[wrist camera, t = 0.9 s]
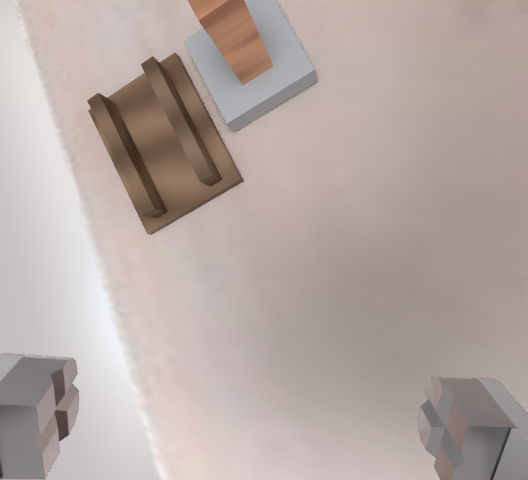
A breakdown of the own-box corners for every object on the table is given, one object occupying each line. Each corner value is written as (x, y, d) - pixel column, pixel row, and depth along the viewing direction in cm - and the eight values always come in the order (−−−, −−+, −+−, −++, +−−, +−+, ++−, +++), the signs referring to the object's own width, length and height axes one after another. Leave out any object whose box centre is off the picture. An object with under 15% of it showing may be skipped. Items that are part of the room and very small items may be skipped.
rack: (93, 113, 48) (70, 101, 44) (178, 56, 46) (162, 38, 42) (151, 234, 46) (132, 232, 42) (243, 181, 44) (232, 174, 40)
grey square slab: (194, 55, 46) (183, 41, 43) (273, 3, 44) (267, -15, 41) (234, 132, 44) (226, 123, 41) (317, 81, 43) (314, 69, 40)
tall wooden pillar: (220, 44, 42) (168, -36, 30) (250, 24, 41) (208, -65, 29) (243, 85, 41) (198, 20, 29) (273, 66, 41) (240, -8, 29)
